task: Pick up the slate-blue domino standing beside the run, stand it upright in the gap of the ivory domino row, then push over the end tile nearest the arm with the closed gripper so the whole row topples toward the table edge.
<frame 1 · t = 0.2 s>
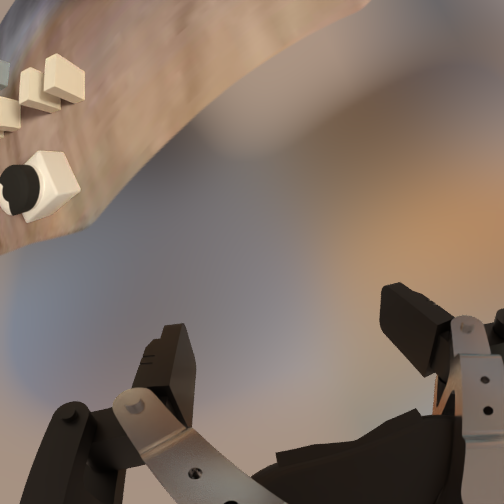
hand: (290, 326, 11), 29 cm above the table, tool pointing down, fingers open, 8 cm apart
domino 5: (0, 125, 29), on the table
domino 1: (79, 87, 30), on the table
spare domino: (5, 76, 26), on the table
domino 4: (17, 116, 29), on the table
domino 2: (56, 97, 30), on the table
medicine bottle: (57, 183, 34), on the table
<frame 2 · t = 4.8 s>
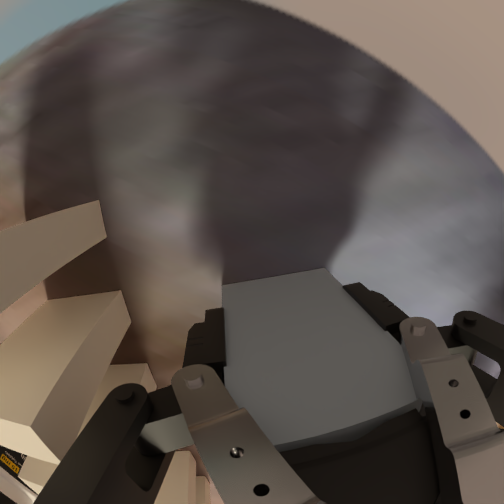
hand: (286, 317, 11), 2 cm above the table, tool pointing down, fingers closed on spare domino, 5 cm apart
domino 5: (86, 311, 13), on the table
domino 1: (180, 480, 18), on the table
domino 6: (62, 228, 12), on the table
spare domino: (276, 293, 14), on the table, touching gripper
domino 4: (114, 376, 14), on the table
domino 2: (162, 457, 17), on the table
medicine bottle: (32, 432, 16), on the table
when the fingers open (3 cm above the table, at t = 10.2 s): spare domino stays where it is, on the table.
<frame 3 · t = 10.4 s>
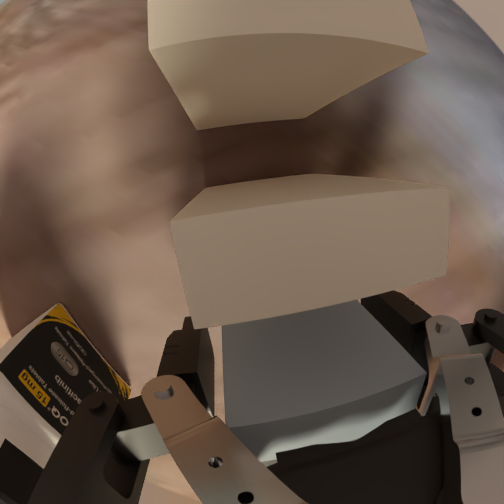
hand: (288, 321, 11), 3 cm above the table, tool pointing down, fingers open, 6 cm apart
domino 5: (248, 104, 12), on the table
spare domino: (273, 288, 14), on the table
domino 4: (262, 198, 13), on the table
medicine bottle: (66, 362, 15), on the table
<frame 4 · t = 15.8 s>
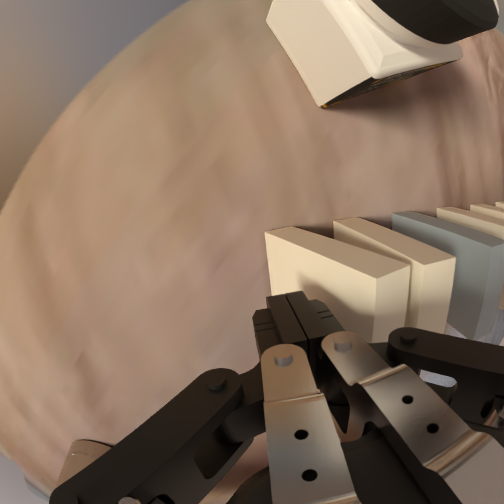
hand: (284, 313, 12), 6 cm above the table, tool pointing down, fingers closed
domino 5: (474, 231, 19), on the table
domino 1: (282, 268, 17), on the table, tilted 15°
domino 6: (498, 226, 19), on the table
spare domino: (401, 246, 18), on the table
domino 4: (443, 238, 19), on the table
domino 2: (347, 256, 18), on the table
medicine bottle: (335, 49, 14), on the table
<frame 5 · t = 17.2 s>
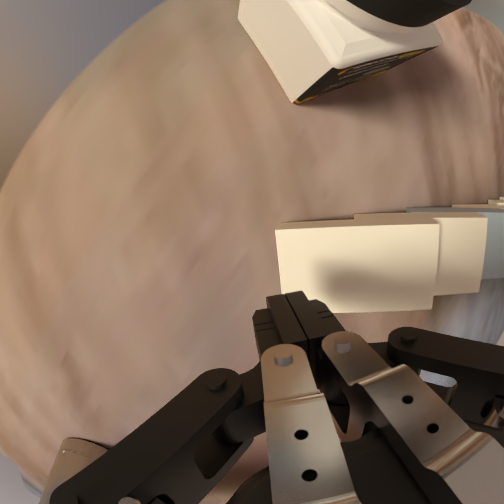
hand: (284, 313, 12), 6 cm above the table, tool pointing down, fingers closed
domino 1: (282, 267, 17), point 1 cm above the table, tilted 67°, touching domino 2
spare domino: (408, 245, 17), point 1 cm above the table, tilted 69°, touching domino 2, domino 4
domino 4: (455, 238, 18), point 1 cm above the table, tilted 69°, touching domino 5, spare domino
domino 2: (355, 256, 17), point 1 cm above the table, tilted 66°, touching domino 1, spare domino
medicine bottle: (311, 43, 14), on the table
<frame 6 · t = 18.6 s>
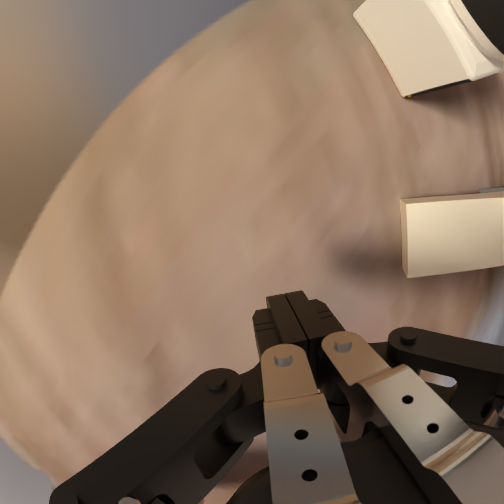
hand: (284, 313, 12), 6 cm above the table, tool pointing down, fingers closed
domino 1: (404, 238, 17), point 1 cm above the table, tilted 68°, touching domino 2
medicine bottle: (407, 47, 14), on the table
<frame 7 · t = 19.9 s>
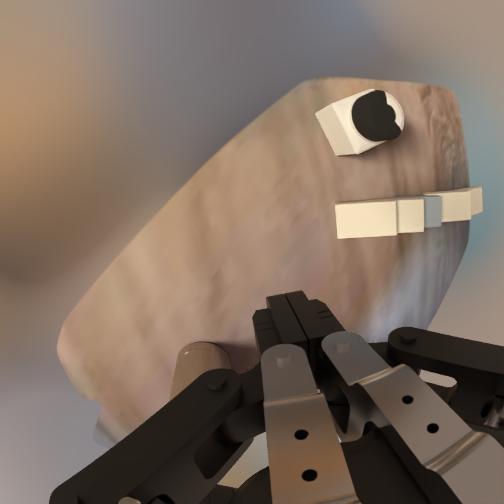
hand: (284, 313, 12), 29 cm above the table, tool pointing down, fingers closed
domino 5: (452, 205, 40), point 2 cm above the table, tilted 90°, touching domino 4
domino 1: (336, 220, 40), point 1 cm above the table, tilted 69°, touching domino 2
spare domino: (392, 213, 41), point 1 cm above the table, tilted 74°, touching domino 2, domino 4
domino 4: (425, 207, 41), point 1 cm above the table, tilted 64°, touching domino 5, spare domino
domino 2: (368, 216, 40), point 1 cm above the table, tilted 67°, touching domino 1, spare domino
medicine bottle: (343, 126, 37), on the table
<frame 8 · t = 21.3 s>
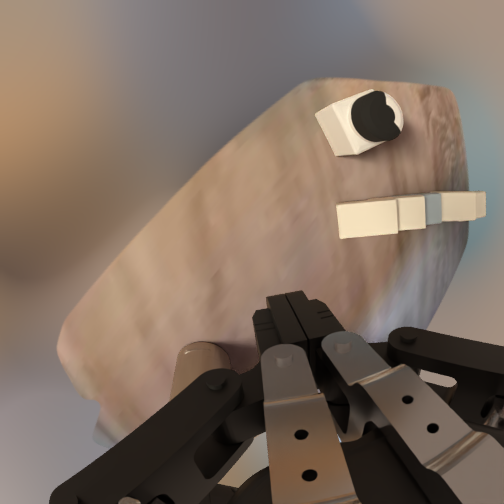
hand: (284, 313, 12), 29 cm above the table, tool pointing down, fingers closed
domino 5: (457, 207, 41), point 2 cm above the table, tilted 90°
domino 1: (337, 220, 40), point 1 cm above the table, tilted 70°, touching domino 2
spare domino: (394, 212, 41), point 1 cm above the table, tilted 77°, touching domino 2
domino 4: (432, 206, 41), point 1 cm above the table, tilted 64°
domino 2: (370, 215, 41), point 1 cm above the table, tilted 68°, touching domino 1, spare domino
medicine bottle: (343, 127, 38), on the table
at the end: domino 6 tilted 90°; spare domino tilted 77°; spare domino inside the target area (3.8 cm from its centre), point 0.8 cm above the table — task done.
